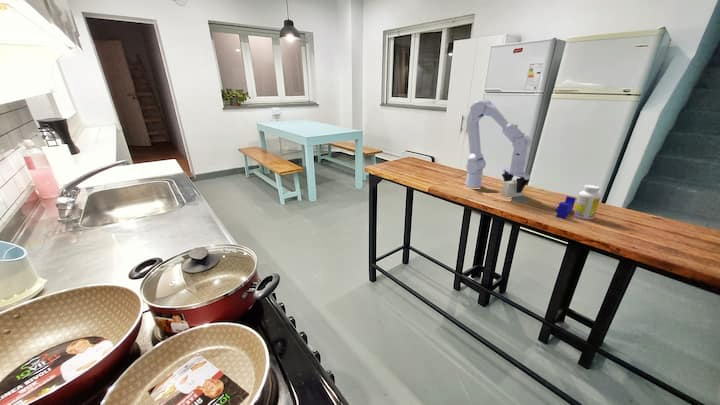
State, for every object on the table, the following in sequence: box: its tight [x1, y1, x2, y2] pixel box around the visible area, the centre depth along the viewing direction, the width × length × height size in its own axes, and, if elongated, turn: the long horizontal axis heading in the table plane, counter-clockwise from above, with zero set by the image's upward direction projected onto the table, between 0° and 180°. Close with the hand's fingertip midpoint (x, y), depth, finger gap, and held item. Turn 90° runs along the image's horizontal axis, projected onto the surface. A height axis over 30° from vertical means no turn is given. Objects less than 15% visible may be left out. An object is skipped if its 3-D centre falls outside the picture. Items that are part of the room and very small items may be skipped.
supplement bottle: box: [573, 184, 602, 220], centre depth 111 cm, size 7×7×13 cm
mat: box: [509, 193, 533, 204], centre depth 135 cm, size 13×20×1 cm, turn 79°
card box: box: [501, 179, 525, 197], centre depth 135 cm, size 4×9×7 cm, turn 104°
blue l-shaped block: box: [555, 195, 577, 219], centre depth 116 cm, size 12×4×6 cm, turn 133°
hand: (512, 190), depth 135 cm, fingers open, 7 cm apart
